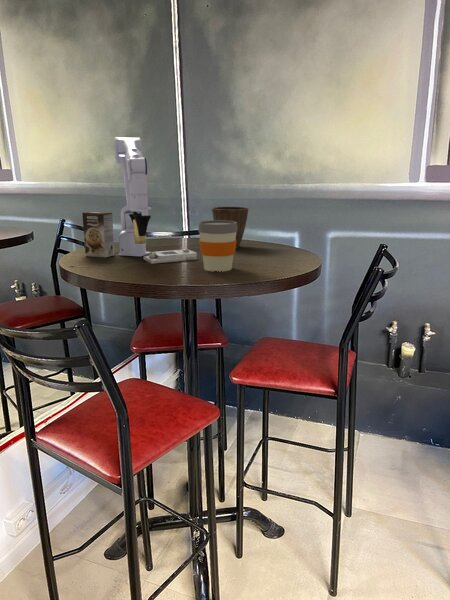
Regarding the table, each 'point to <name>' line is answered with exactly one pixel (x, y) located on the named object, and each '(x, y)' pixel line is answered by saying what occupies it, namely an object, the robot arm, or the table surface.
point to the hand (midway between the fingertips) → (140, 235)
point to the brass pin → (136, 236)
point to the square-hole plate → (170, 256)
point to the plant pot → (232, 218)
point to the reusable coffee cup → (217, 244)
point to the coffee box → (98, 234)
